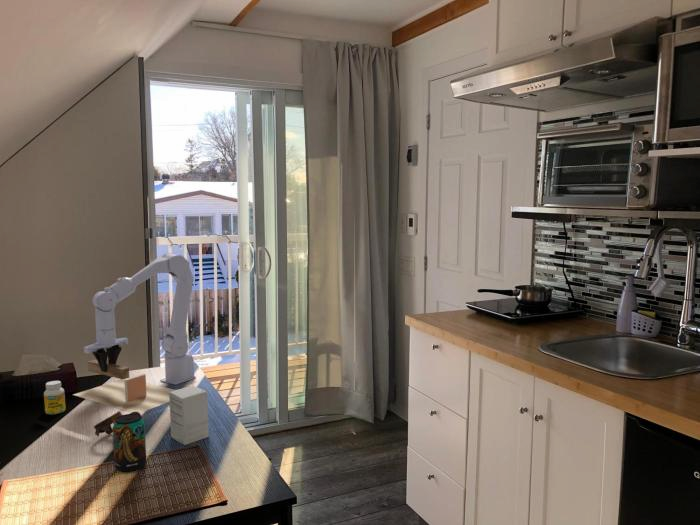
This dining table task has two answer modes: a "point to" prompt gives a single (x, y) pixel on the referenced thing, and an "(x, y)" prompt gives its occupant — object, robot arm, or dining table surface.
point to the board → (116, 396)
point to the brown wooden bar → (109, 369)
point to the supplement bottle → (54, 398)
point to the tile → (135, 387)
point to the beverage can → (129, 443)
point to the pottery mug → (108, 424)
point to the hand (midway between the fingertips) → (108, 370)
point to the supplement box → (189, 414)
